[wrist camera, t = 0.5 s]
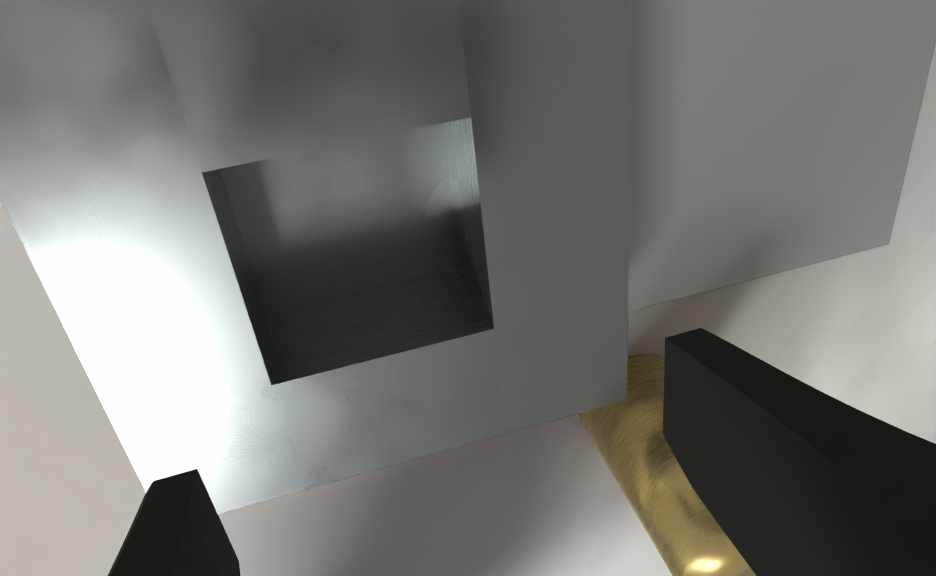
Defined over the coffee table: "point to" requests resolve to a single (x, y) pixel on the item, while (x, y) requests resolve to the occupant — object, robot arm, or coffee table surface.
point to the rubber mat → (767, 135)
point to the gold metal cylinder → (659, 477)
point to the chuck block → (324, 222)
